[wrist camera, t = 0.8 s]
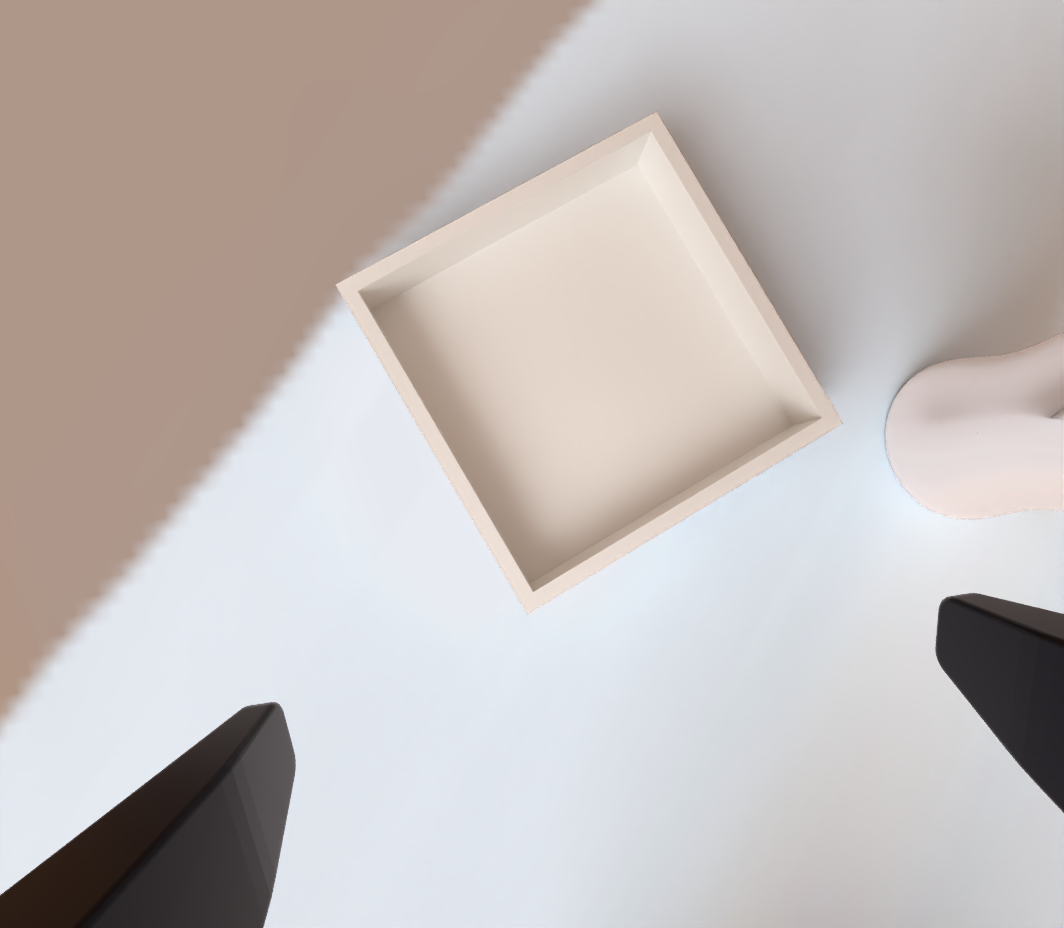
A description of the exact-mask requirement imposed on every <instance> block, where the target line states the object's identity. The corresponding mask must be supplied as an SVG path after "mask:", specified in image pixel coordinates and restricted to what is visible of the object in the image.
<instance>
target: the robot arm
mask: <svg viewBox="0 0 1064 928" xmlns="http://www.w3.org/2000/svg"><path fill="white" fill-rule="evenodd" d="M936 656H937V659H938V662H939V664H940V665H941V667H942V669H943V670H944V671H945V673H946V674H947V675H948V676H949V678H950V679H951V680H952V681H953V683H954V684H955V685H956V686H957V688H958V689H959V690H960V691H961V693H962V694H963V695H964V697H965V698H966V699H967V700H968V702H969V703H970V704H971V705H972V707H973V708H974V709H975V710H976V712H977V713H978V714H979V715H980V717H981V718H982V719H983V720H984V722H985V723H986V724H987V725H988V727H989V728H990V729H991V730H992V732H993V733H994V734H995V735H996V737H997V738H998V739H999V741H1000V742H1001V743H1002V744H1003V746H1004V747H1005V748H1006V749H1007V751H1008V752H1009V753H1010V754H1011V755H1012V757H1013V758H1014V759H1015V760H1016V761H1017V763H1018V764H1019V765H1020V766H1021V767H1022V768H1023V770H1024V771H1025V772H1026V773H1027V774H1028V775H1029V776H1030V777H1031V778H1032V779H1033V781H1034V782H1035V783H1036V784H1037V785H1038V786H1039V787H1040V788H1041V789H1042V790H1043V791H1044V792H1045V794H1046V795H1047V796H1048V797H1049V798H1050V799H1051V800H1052V801H1053V802H1054V803H1055V804H1056V805H1057V806H1058V807H1059V808H1060V809H1061V811H1062V812H1063V813H1064V614H1061V613H1057V612H1053V611H1049V610H1045V609H1041V608H1036V607H1032V606H1028V605H1024V604H1020V603H1015V602H1011V601H1007V600H1003V599H999V598H995V597H990V596H986V595H982V594H977V593H968V594H962V595H956V596H950V597H946V598H945V599H943V600H942V602H941V604H940V606H939V612H938V624H937V636H936ZM295 767H296V764H295V754H294V749H293V746H292V742H291V738H290V734H289V731H288V727H287V723H286V719H285V716H284V712H283V710H282V708H281V706H280V705H279V704H278V703H276V702H270V703H263V704H257V705H250V706H246V707H244V708H242V709H241V710H240V711H238V712H237V713H236V714H234V715H233V716H232V717H231V718H229V719H228V720H227V721H225V722H224V723H223V724H222V725H220V726H219V727H218V728H216V729H215V730H214V731H212V732H211V733H210V734H209V735H207V736H206V737H205V738H203V739H202V740H201V741H199V742H198V743H197V744H196V745H194V746H193V747H192V748H190V749H189V750H188V751H187V752H185V753H184V754H183V755H181V756H180V757H179V758H177V759H176V760H175V761H174V762H172V763H171V764H170V765H168V766H167V767H166V768H165V769H163V770H162V771H161V772H159V773H158V774H157V775H155V776H154V777H153V778H152V779H150V780H149V781H148V782H146V783H145V784H144V785H142V786H141V787H140V788H139V789H137V790H136V791H135V792H133V793H132V794H131V795H130V796H128V797H127V798H126V799H124V800H123V801H122V802H120V803H119V804H118V805H117V806H115V807H114V808H113V809H111V810H110V811H109V812H108V813H106V814H105V815H104V816H102V817H101V818H100V819H98V820H97V821H96V822H95V823H93V824H92V825H91V826H89V827H88V828H87V829H86V830H84V831H83V832H82V833H80V834H79V835H78V836H76V837H75V838H74V839H73V840H71V841H70V842H69V843H67V844H66V845H65V846H63V847H62V848H61V849H60V850H58V851H57V852H56V853H54V854H53V855H52V856H51V857H49V858H48V859H47V860H45V861H44V862H43V863H41V864H40V865H39V866H38V867H36V868H35V869H34V870H32V871H31V872H30V873H29V874H27V875H26V876H25V877H23V878H22V879H21V880H19V881H18V882H17V883H16V884H14V885H13V886H12V887H10V888H9V889H8V890H6V891H5V892H4V893H3V894H1V895H0V928H263V927H264V923H265V920H266V916H267V912H268V908H269V905H270V901H271V897H272V892H273V888H274V883H275V878H276V873H277V868H278V862H279V857H280V851H281V846H282V841H283V835H284V830H285V825H286V819H287V814H288V809H289V803H290V798H291V792H292V787H293V782H294V776H295Z"/></svg>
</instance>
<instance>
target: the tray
mask: <svg viewBox="0 0 1064 928" xmlns="http://www.w3.org/2000/svg"><path fill="white" fill-rule="evenodd" d="M336 286H337V288H338V290H339V292H340V293H341V295H342V297H343V298H344V300H345V302H346V304H347V305H348V307H349V309H350V310H351V312H352V314H353V316H354V317H355V319H356V321H357V322H358V324H359V326H360V328H361V329H362V331H363V333H364V335H365V336H366V338H367V340H368V341H369V343H370V345H371V347H372V348H373V350H374V352H375V353H376V355H377V357H378V359H379V360H380V362H381V364H382V365H383V367H384V369H385V371H386V372H387V374H388V376H389V377H390V379H391V381H392V383H393V384H394V386H395V388H396V390H397V391H398V393H399V395H400V396H401V398H402V400H403V402H404V403H405V405H406V407H407V408H408V410H409V412H410V414H411V415H412V417H413V419H414V420H415V422H416V424H417V426H418V427H419V429H420V431H421V432H422V434H423V436H424V438H425V439H426V441H427V443H428V445H429V446H430V448H431V450H432V451H433V453H434V455H435V457H436V458H437V460H438V462H439V463H440V465H441V467H442V469H443V470H444V472H445V474H446V475H447V477H448V479H449V481H450V482H451V484H452V486H453V487H454V489H455V491H456V493H457V494H458V496H459V498H460V500H461V501H462V503H463V505H464V506H465V508H466V510H467V512H468V513H469V515H470V517H471V518H472V520H473V522H474V524H475V525H476V527H477V529H478V530H479V532H480V534H481V536H482V537H483V539H484V541H485V542H486V544H487V546H488V548H489V549H490V551H491V553H492V554H493V556H494V558H495V560H496V561H497V563H498V565H499V567H500V568H501V570H502V572H503V573H504V575H505V577H506V579H507V580H508V582H509V584H510V585H511V587H512V589H513V591H514V592H515V594H516V596H517V597H518V599H519V601H520V603H521V604H522V606H523V608H524V609H525V611H526V613H527V614H529V613H531V612H532V611H534V610H535V609H537V608H539V607H540V606H542V605H544V604H545V603H547V602H549V601H550V600H552V599H554V598H555V597H557V596H559V595H560V594H562V593H564V592H565V591H567V590H569V589H570V588H572V587H573V586H575V585H577V584H578V583H580V582H582V581H583V580H585V579H587V578H588V577H590V576H592V575H593V574H595V573H597V572H598V571H600V570H602V569H603V568H605V567H606V566H608V565H610V564H611V563H613V562H615V561H616V560H618V559H620V558H621V557H623V556H625V555H626V554H628V553H630V552H631V551H633V550H635V549H636V548H638V547H639V546H641V545H643V544H644V543H646V542H648V541H649V540H651V539H653V538H654V537H656V536H658V535H659V534H661V533H663V532H664V531H666V530H668V529H669V528H671V527H673V526H674V525H676V524H677V523H679V522H681V521H682V520H684V519H686V518H687V517H689V516H691V515H692V514H694V513H696V512H697V511H699V510H701V509H702V508H704V507H706V506H707V505H709V504H710V503H712V502H714V501H715V500H717V499H719V498H720V497H722V496H724V495H725V494H727V493H729V492H730V491H732V490H734V489H735V488H737V487H739V486H740V485H742V484H743V483H745V482H747V481H748V480H750V479H752V478H753V477H755V476H757V475H758V474H760V473H762V472H763V471H765V470H767V469H768V468H770V467H772V466H773V465H775V464H777V463H778V462H780V461H781V460H783V459H785V458H786V457H788V456H790V455H791V454H793V453H795V452H796V451H798V450H800V449H801V448H803V447H805V446H806V445H808V444H810V443H811V442H813V441H814V440H816V439H818V438H819V437H821V436H823V435H824V434H826V433H828V432H829V431H831V430H833V429H834V428H836V427H838V426H839V425H841V424H843V422H842V421H841V419H840V417H839V416H838V414H837V412H836V411H835V409H834V407H833V406H832V404H831V402H830V401H829V399H828V397H827V396H826V394H825V392H824V391H823V389H822V387H821V386H820V384H819V382H818V381H817V379H816V377H815V376H814V374H813V372H812V371H811V369H810V367H809V366H808V364H807V362H806V361H805V359H804V357H803V356H802V354H801V352H800V351H799V349H798V347H797V346H796V344H795V342H794V341H793V339H792V337H791V336H790V334H789V332H788V331H787V329H786V327H785V326H784V324H783V322H782V321H781V319H780V317H779V316H778V314H777V312H776V311H775V309H774V307H773V305H772V304H771V302H770V300H769V299H768V297H767V295H766V294H765V292H764V290H763V289H762V287H761V285H760V284H759V282H758V280H757V279H756V277H755V275H754V274H753V272H752V270H751V269H750V267H749V265H748V264H747V262H746V260H745V259H744V257H743V255H742V254H741V252H740V250H739V249H738V247H737V245H736V244H735V242H734V240H733V239H732V237H731V235H730V234H729V232H728V230H727V229H726V227H725V225H724V224H723V222H722V220H721V219H720V217H719V215H718V214H717V212H716V210H715V209H714V207H713V205H712V204H711V202H710V200H709V199H708V197H707V195H706V194H705V192H704V190H703V189H702V187H701V185H700V184H699V182H698V180H697V178H696V177H695V175H694V173H693V172H692V170H691V168H690V167H689V165H688V163H687V162H686V160H685V158H684V157H683V155H682V153H681V152H680V150H679V148H678V147H677V145H676V143H675V142H674V140H673V138H672V137H671V135H670V133H669V132H668V130H667V128H666V127H665V125H664V123H663V122H662V120H661V118H660V117H659V115H658V113H657V112H655V113H653V114H651V115H649V116H647V117H645V118H644V119H642V120H640V121H638V122H636V123H634V124H632V125H631V126H629V127H627V128H625V129H623V130H621V131H619V132H618V133H616V134H614V135H612V136H610V137H608V138H606V139H605V140H603V141H601V142H599V143H597V144H595V145H594V146H592V147H590V148H588V149H586V150H584V151H582V152H581V153H579V154H577V155H575V156H573V157H571V158H569V159H568V160H566V161H564V162H562V163H560V164H558V165H556V166H555V167H553V168H551V169H549V170H547V171H545V172H544V173H542V174H540V175H538V176H536V177H534V178H532V179H531V180H529V181H527V182H525V183H523V184H521V185H519V186H518V187H516V188H514V189H512V190H510V191H508V192H506V193H505V194H503V195H501V196H499V197H497V198H495V199H493V200H492V201H490V202H488V203H486V204H484V205H482V206H481V207H479V208H477V209H475V210H473V211H471V212H469V213H468V214H466V215H464V216H462V217H460V218H458V219H456V220H455V221H453V222H451V223H449V224H447V225H445V226H443V227H442V228H440V229H438V230H436V231H434V232H432V233H431V234H429V235H427V236H425V237H423V238H421V239H419V240H418V241H416V242H414V243H412V244H410V245H408V246H406V247H405V248H403V249H401V250H399V251H397V252H395V253H393V254H392V255H390V256H388V257H386V258H384V259H382V260H381V261H379V262H377V263H375V264H373V265H371V266H369V267H368V268H366V269H364V270H362V271H360V272H358V273H356V274H355V275H353V276H351V277H349V278H347V279H345V280H343V281H342V282H340V283H338V284H336Z"/></svg>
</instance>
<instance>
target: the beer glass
mask: <svg viewBox="0 0 1064 928" xmlns="http://www.w3.org/2000/svg"><path fill="white" fill-rule="evenodd" d="M885 444H886V451H887V455H888V459H889V462H890V465H891V468H892V470H893V472H894V474H895V476H896V478H897V479H898V481H899V483H900V484H901V485H902V487H903V488H904V489H905V491H906V492H907V493H908V494H909V495H910V496H911V497H912V498H913V499H914V500H916V501H917V502H918V503H919V504H921V505H922V506H924V507H925V508H927V509H929V510H931V511H933V512H935V513H938V514H941V515H944V516H947V517H951V518H956V519H982V518H989V517H995V516H1000V515H1005V514H1010V513H1016V512H1021V511H1029V510H1052V511H1064V332H1063V333H1061V334H1059V335H1056V336H1054V337H1052V338H1050V339H1048V340H1046V341H1044V342H1042V343H1039V344H1037V345H1035V346H1032V347H1029V348H1026V349H1024V350H1021V351H1018V352H1014V353H1009V354H1005V355H998V356H988V357H973V358H961V359H953V360H948V361H944V362H940V363H937V364H934V365H931V366H929V367H927V368H925V369H923V370H922V371H920V372H919V373H917V374H916V375H914V376H913V377H912V378H911V379H910V380H908V381H907V382H906V383H905V385H904V386H903V387H902V388H901V389H900V391H899V392H898V394H897V395H896V397H895V399H894V401H893V403H892V405H891V407H890V410H889V413H888V417H887V422H886V429H885Z"/></svg>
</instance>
